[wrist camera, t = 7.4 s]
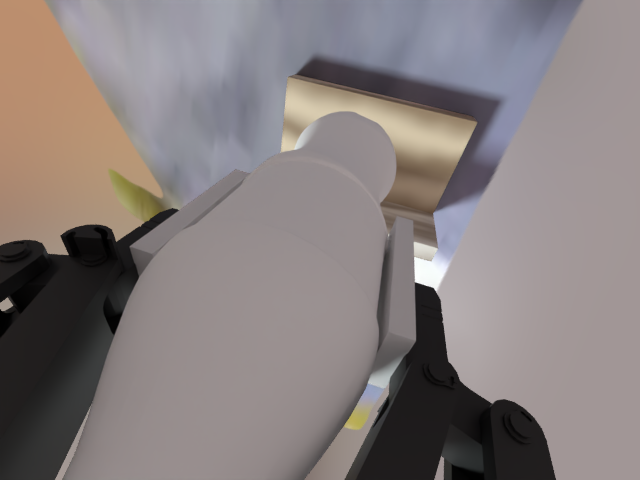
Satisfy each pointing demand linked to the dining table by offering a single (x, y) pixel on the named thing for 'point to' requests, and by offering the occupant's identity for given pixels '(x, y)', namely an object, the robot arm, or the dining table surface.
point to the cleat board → (407, 138)
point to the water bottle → (252, 323)
